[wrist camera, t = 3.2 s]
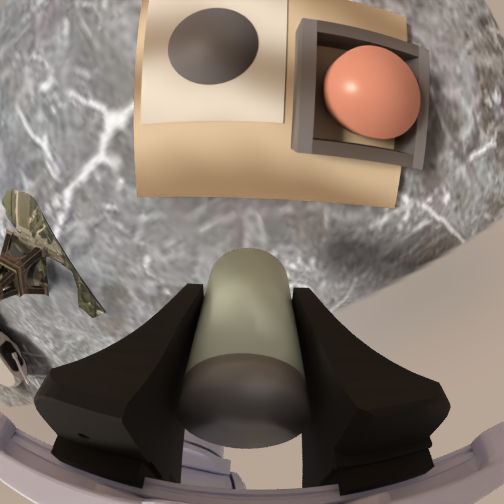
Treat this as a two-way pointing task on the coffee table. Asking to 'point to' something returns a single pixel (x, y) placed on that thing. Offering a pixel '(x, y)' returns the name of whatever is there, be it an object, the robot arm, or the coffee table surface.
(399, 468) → the robot arm
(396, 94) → the button
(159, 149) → the wooden base tray
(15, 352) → the robot toy
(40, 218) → the eiffel tower figurine
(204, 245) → the coffee table surface
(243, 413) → the green capped bottle
